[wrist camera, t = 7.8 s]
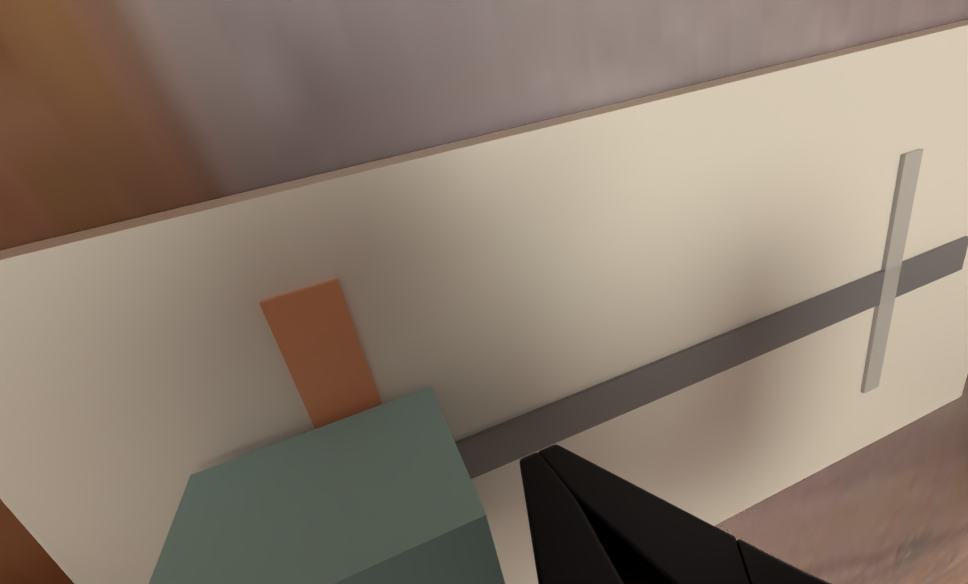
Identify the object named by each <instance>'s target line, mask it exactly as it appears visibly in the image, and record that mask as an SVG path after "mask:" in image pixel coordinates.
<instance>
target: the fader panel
mask: <svg viewBox="0 0 968 584" xmlns="http://www.w3.org/2000/svg"><path fill="white" fill-rule="evenodd" d="M967 374H968V19H967V20H963V21H959V22H955V23H951V24H947V25H942V26H938V27H934V28H930V29H926V30H921V31H917V32H913V33H909V34H905V35H900V36H896V37H892V38H888V39H884V40H880V41H875V42H871V43H867V44H863V45H859V46H854V47H850V48H846V49H842V50H838V51H833V52H829V53H825V54H821V55H817V56H813V57H808V58H804V59H800V60H796V61H792V62H787V63H783V64H779V65H775V66H771V67H766V68H762V69H758V70H754V71H750V72H746V73H741V74H737V75H733V76H729V77H725V78H720V79H716V80H712V81H708V82H704V83H699V84H695V85H691V86H687V87H683V88H679V89H674V90H670V91H666V92H662V93H658V94H653V95H649V96H645V97H641V98H637V99H632V100H628V101H624V102H620V103H616V104H612V105H607V106H603V107H599V108H595V109H591V110H586V111H582V112H578V113H574V114H570V115H565V116H561V117H557V118H553V119H549V120H545V121H540V122H536V123H532V124H528V125H524V126H519V127H515V128H511V129H507V130H503V131H498V132H494V133H490V134H486V135H482V136H478V137H473V138H469V139H465V140H461V141H457V142H452V143H448V144H444V145H440V146H436V147H431V148H427V149H423V150H419V151H415V152H411V153H406V154H402V155H398V156H394V157H390V158H385V159H381V160H377V161H373V162H369V163H364V164H360V165H356V166H352V167H348V168H344V169H339V170H335V171H331V172H327V173H323V174H318V175H314V176H310V177H306V178H302V179H297V180H293V181H289V182H285V183H281V184H277V185H272V186H268V187H264V188H260V189H256V190H251V191H247V192H243V193H239V194H235V195H230V196H226V197H222V198H218V199H214V200H210V201H205V202H201V203H197V204H193V205H189V206H184V207H180V208H176V209H172V210H168V211H163V212H159V213H155V214H151V215H147V216H143V217H138V218H134V219H130V220H126V221H122V222H117V223H113V224H109V225H105V226H101V227H96V228H92V229H88V230H84V231H80V232H76V233H71V234H67V235H63V236H59V237H55V238H50V239H46V240H42V241H38V242H34V243H30V244H25V245H21V246H17V247H13V248H9V249H4V250H0V499H1V500H2V501H3V503H4V504H5V505H6V506H7V507H8V508H9V509H10V511H11V512H12V513H13V514H14V515H15V516H16V518H17V519H18V520H19V521H20V522H21V523H22V524H23V526H24V527H25V528H26V529H27V530H28V531H29V532H30V534H31V535H32V536H33V537H34V538H35V539H36V540H37V542H38V543H39V544H40V545H41V546H42V547H43V548H44V550H45V551H46V552H47V553H48V554H49V555H50V556H51V558H52V559H53V560H54V561H55V562H56V563H57V564H58V566H59V567H60V568H61V569H62V570H63V571H64V572H65V574H66V575H67V576H68V577H69V578H70V579H71V580H72V582H73V583H74V584H149V582H150V579H151V577H152V574H153V571H154V569H155V566H156V564H157V561H158V558H159V556H160V553H161V550H162V548H163V545H164V543H165V540H166V537H167V535H168V532H169V530H170V527H171V524H172V522H173V519H174V517H175V514H176V511H177V509H178V506H179V504H180V501H181V498H182V496H183V493H184V490H185V488H186V485H187V483H188V480H189V477H190V475H192V474H195V473H197V472H200V471H203V470H205V469H208V468H211V467H214V466H216V465H219V464H222V463H224V462H227V461H230V460H233V459H235V458H238V457H241V456H243V455H246V454H249V453H252V452H254V451H257V450H260V449H262V448H265V447H268V446H271V445H273V444H276V443H279V442H281V441H284V440H287V439H290V438H292V437H295V436H298V435H300V434H303V433H306V432H309V431H311V430H314V429H317V428H319V427H322V426H325V425H328V424H330V423H333V422H336V421H338V420H341V419H344V418H347V417H349V416H352V415H355V414H357V413H360V412H363V411H366V410H368V409H371V408H374V407H376V406H379V405H382V404H385V403H387V402H390V401H393V400H396V399H398V398H401V397H404V396H406V395H409V394H412V393H415V392H417V391H420V390H423V389H425V388H428V387H431V388H432V390H433V392H434V395H435V397H436V399H437V402H438V404H439V406H440V409H441V411H442V413H443V416H444V418H445V420H446V422H447V425H448V427H449V429H450V432H451V434H452V436H453V439H454V441H455V443H456V446H457V448H458V450H459V453H460V455H461V457H462V460H463V462H464V464H465V467H466V469H467V471H468V474H469V476H470V478H471V481H472V483H473V485H474V488H475V490H476V492H477V495H478V497H479V499H480V502H481V504H482V506H483V509H484V511H485V513H486V516H487V520H488V523H489V527H490V530H491V534H492V538H493V541H494V545H495V549H496V552H497V556H498V559H499V563H500V567H501V570H502V574H503V577H504V581H505V584H538V579H537V572H536V566H535V559H534V553H533V547H532V540H531V534H530V528H529V521H528V515H527V508H526V502H525V496H524V489H523V483H522V476H521V470H520V463H519V462H520V459H522V458H524V457H526V456H528V455H531V454H533V453H536V452H537V453H538V452H539V451H540V450H542V449H545V448H547V447H549V446H552V445H559V446H561V447H563V448H565V449H567V450H569V451H571V452H573V453H575V454H577V455H579V456H580V457H582V458H584V459H586V460H588V461H590V462H592V463H594V464H596V465H598V466H600V467H602V468H604V469H605V470H607V471H609V472H611V473H613V474H615V475H617V476H619V477H621V478H623V479H625V480H627V481H629V482H630V483H632V484H634V485H636V486H638V487H640V488H642V489H644V490H646V491H648V492H650V493H652V494H654V495H655V496H657V497H659V498H661V499H663V500H665V501H667V502H669V503H671V504H673V505H675V506H677V507H678V508H680V509H682V510H684V511H686V512H688V513H690V514H692V515H694V516H696V517H698V518H700V519H702V520H703V521H705V522H707V523H709V524H711V525H713V526H715V525H717V524H718V523H720V522H722V521H724V520H726V519H728V518H730V517H732V516H734V515H736V514H738V513H739V512H741V511H743V510H745V509H747V508H749V507H751V506H753V505H755V504H757V503H759V502H760V501H762V500H764V499H766V498H768V497H770V496H772V495H774V494H776V493H778V492H780V491H781V490H783V489H785V488H787V487H789V486H791V485H793V484H795V483H797V482H799V481H801V480H802V479H804V478H806V477H808V476H810V475H812V474H814V473H816V472H818V471H820V470H822V469H823V468H825V467H827V466H829V465H831V464H833V463H835V462H837V461H839V460H841V459H843V458H844V457H846V456H848V455H850V454H852V453H854V452H856V451H858V450H860V449H862V448H864V447H865V446H867V445H869V444H871V443H873V442H875V441H877V440H879V439H881V438H883V437H885V436H886V435H888V434H890V433H892V432H894V431H896V430H898V429H900V428H902V427H904V426H905V425H907V424H909V423H911V422H913V421H915V420H917V419H919V418H921V417H923V416H925V415H926V414H928V413H930V412H932V411H934V410H936V409H938V408H940V407H942V406H944V405H946V404H947V403H949V402H951V401H953V400H955V399H957V398H959V397H961V396H962V392H963V388H964V385H965V381H966V378H967Z"/></svg>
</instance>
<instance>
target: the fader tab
mask: <svg viewBox="0 0 968 584" xmlns="http://www.w3.org/2000/svg"><path fill="white" fill-rule="evenodd" d="M149 584H505V581H504V577H503V574H502V570H501V567H500V563H499V559H498V556H497V552H496V549H495V545H494V541H493V538H492V534H491V530H490V527H489V523H488V520H487V516H486V513H485V511H484V509H483V506H482V504H481V502H480V499H479V497H478V495H477V492H476V490H475V488H474V485H473V483H472V481H471V478H470V476H469V474H468V471H467V469H466V467H465V464H464V462H463V460H462V457H461V455H460V453H459V450H458V448H457V446H456V443H455V441H454V439H453V436H452V434H451V432H450V429H449V427H448V425H447V422H446V420H445V418H444V416H443V413H442V411H441V409H440V406H439V404H438V402H437V399H436V397H435V395H434V392H433V390H432V388H431V387H428V388H425V389H423V390H420V391H417V392H415V393H412V394H409V395H406V396H404V397H401V398H398V399H396V400H393V401H390V402H387V403H385V404H382V405H379V406H376V407H374V408H371V409H368V410H366V411H363V412H360V413H357V414H355V415H352V416H349V417H347V418H344V419H341V420H338V421H336V422H333V423H330V424H328V425H325V426H322V427H319V428H317V429H314V430H311V431H309V432H306V433H303V434H300V435H298V436H295V437H292V438H290V439H287V440H284V441H281V442H279V443H276V444H273V445H271V446H268V447H265V448H262V449H260V450H257V451H254V452H252V453H249V454H246V455H243V456H241V457H238V458H235V459H233V460H230V461H227V462H224V463H222V464H219V465H216V466H214V467H211V468H208V469H205V470H203V471H200V472H197V473H195V474H192V475H190V477H189V480H188V483H187V485H186V488H185V490H184V493H183V496H182V498H181V501H180V504H179V506H178V509H177V511H176V514H175V517H174V519H173V522H172V524H171V527H170V530H169V532H168V535H167V537H166V540H165V543H164V545H163V548H162V550H161V553H160V556H159V558H158V561H157V564H156V566H155V569H154V571H153V574H152V577H151V579H150V582H149Z"/></svg>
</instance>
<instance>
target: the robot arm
mask: <svg viewBox="0 0 968 584" xmlns="http://www.w3.org/2000/svg"><path fill="white" fill-rule="evenodd" d="M519 463H520V470H521V476H522V483H523V489H524V496H525V502H526V508H527V515H528V521H529V528H530V534H531V540H532V547H533V553H534V559H535V566H536V572H537V579H538V584H831V583H829V582H826V581H824V580H822V579H820V578H817V577H815V576H813V575H811V574H808V573H806V572H804V571H802V570H800V569H798V568H796V567H794V566H792V565H790V564H788V563H786V562H784V561H782V560H780V559H778V558H776V557H774V556H772V555H769V554H767V553H765V552H763V551H762V550H760V549H758V548H756V547H754V546H752V545H750V544H748V543H746V542H744V541H742V540H740V539H739V540H737V541H736V539H735V537H734V536H732V535H730V534H728V533H727V532H725V531H723V530H721V529H719V528H717V527H715V526H713V525H711V524H709V523H707V522H705V521H703V520H702V519H700V518H698V517H696V516H694V515H692V514H690V513H688V512H686V511H684V510H682V509H680V508H678V507H677V506H675V505H673V504H671V503H669V502H667V501H665V500H663V499H661V498H659V497H657V496H655V495H654V494H652V493H650V492H648V491H646V490H644V489H642V488H640V487H638V486H636V485H634V484H632V483H630V482H629V481H627V480H625V479H623V478H621V477H619V476H617V475H615V474H613V473H611V472H609V471H607V470H605V469H604V468H602V467H600V466H598V465H596V464H594V463H592V462H590V461H588V460H586V459H584V458H582V457H580V456H579V455H577V454H575V453H573V452H571V451H569V450H567V449H565V448H563V447H561V446H559V445H552V446H549V447H547V448H545V449H542V450H540V451H539V452H538V453H537V452H536V453H533V454H531V455H528V456H526V457H524V458H522V459H520V462H519Z"/></svg>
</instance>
